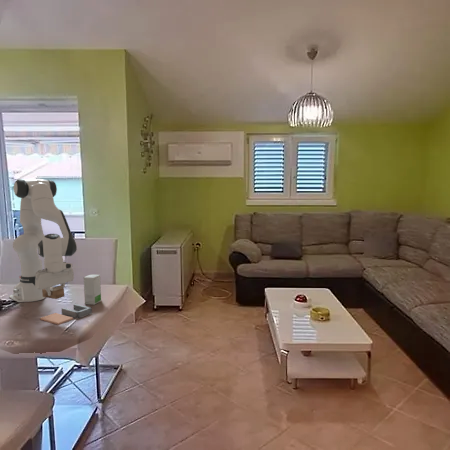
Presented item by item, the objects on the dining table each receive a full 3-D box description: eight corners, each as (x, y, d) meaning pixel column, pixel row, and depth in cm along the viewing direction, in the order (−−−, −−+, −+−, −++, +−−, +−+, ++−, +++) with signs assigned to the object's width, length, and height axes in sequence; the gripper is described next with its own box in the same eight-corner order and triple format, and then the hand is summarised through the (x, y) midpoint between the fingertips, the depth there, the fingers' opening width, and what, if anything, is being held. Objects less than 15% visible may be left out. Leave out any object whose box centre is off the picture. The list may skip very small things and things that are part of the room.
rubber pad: (40, 319, 210) (39, 318, 210) (55, 314, 218) (55, 312, 217) (57, 324, 203) (57, 323, 203) (73, 319, 210) (73, 317, 210)
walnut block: (42, 296, 210) (41, 286, 209) (51, 294, 214) (50, 283, 213) (56, 299, 205) (55, 288, 204) (64, 296, 209) (63, 285, 209)
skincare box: (94, 305, 233) (93, 277, 231) (83, 304, 234) (82, 277, 232) (101, 300, 241) (100, 274, 239) (91, 299, 242) (90, 273, 240)
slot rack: (61, 314, 218) (61, 308, 218) (75, 309, 226) (75, 303, 225) (77, 318, 212) (77, 312, 211) (91, 313, 219) (91, 307, 219)
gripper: (39, 271, 196) (41, 300, 198) (75, 263, 214) (76, 289, 215) (31, 270, 199) (33, 298, 201) (66, 262, 217) (68, 287, 219)
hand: (55, 293), depth 208 cm, fingers closed on walnut block, 5 cm apart
